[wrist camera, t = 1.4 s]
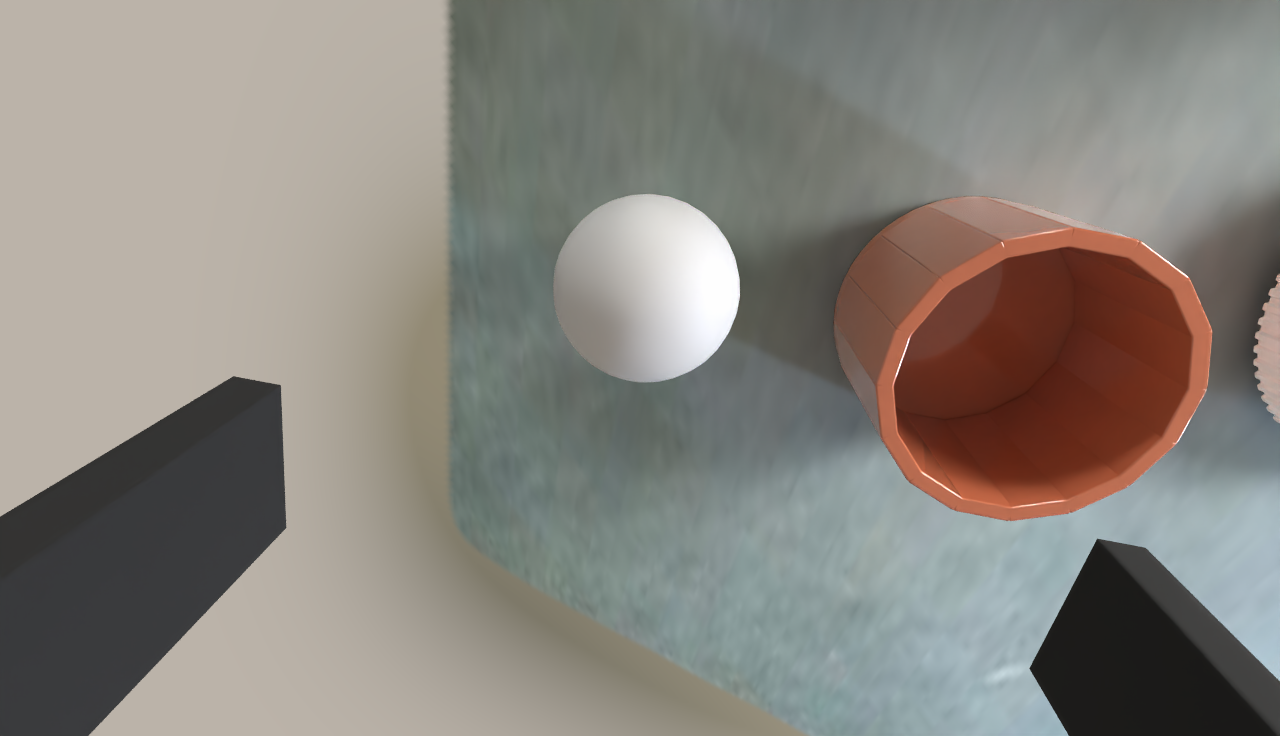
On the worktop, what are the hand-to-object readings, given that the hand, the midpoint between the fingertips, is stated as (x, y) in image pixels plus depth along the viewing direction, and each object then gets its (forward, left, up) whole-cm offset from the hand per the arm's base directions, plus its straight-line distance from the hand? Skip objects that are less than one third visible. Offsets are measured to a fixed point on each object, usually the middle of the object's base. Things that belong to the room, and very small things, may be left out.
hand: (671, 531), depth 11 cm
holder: (+9, +8, -20) cm, 24 cm away
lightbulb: (-1, -1, -20) cm, 20 cm away
